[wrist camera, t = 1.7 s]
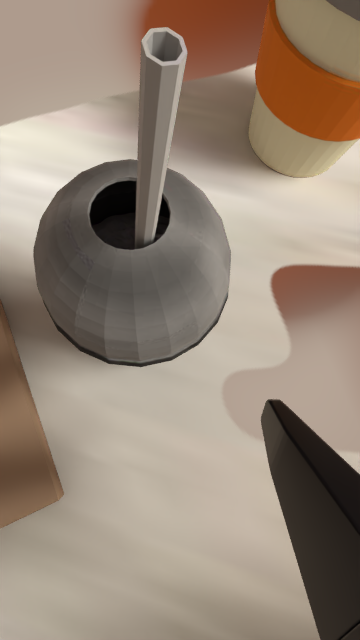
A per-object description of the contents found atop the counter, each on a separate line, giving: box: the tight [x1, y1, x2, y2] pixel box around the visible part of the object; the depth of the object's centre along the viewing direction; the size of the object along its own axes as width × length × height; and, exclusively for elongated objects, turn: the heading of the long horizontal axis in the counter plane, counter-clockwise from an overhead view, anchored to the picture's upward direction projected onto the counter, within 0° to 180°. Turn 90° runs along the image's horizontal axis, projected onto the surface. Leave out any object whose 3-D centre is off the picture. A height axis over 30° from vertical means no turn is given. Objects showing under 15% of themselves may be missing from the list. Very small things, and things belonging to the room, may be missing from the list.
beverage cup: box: [34, 27, 231, 367], centre depth 13 cm, size 7×7×20 cm
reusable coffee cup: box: [248, 0, 360, 178], centre depth 21 cm, size 12×13×15 cm
